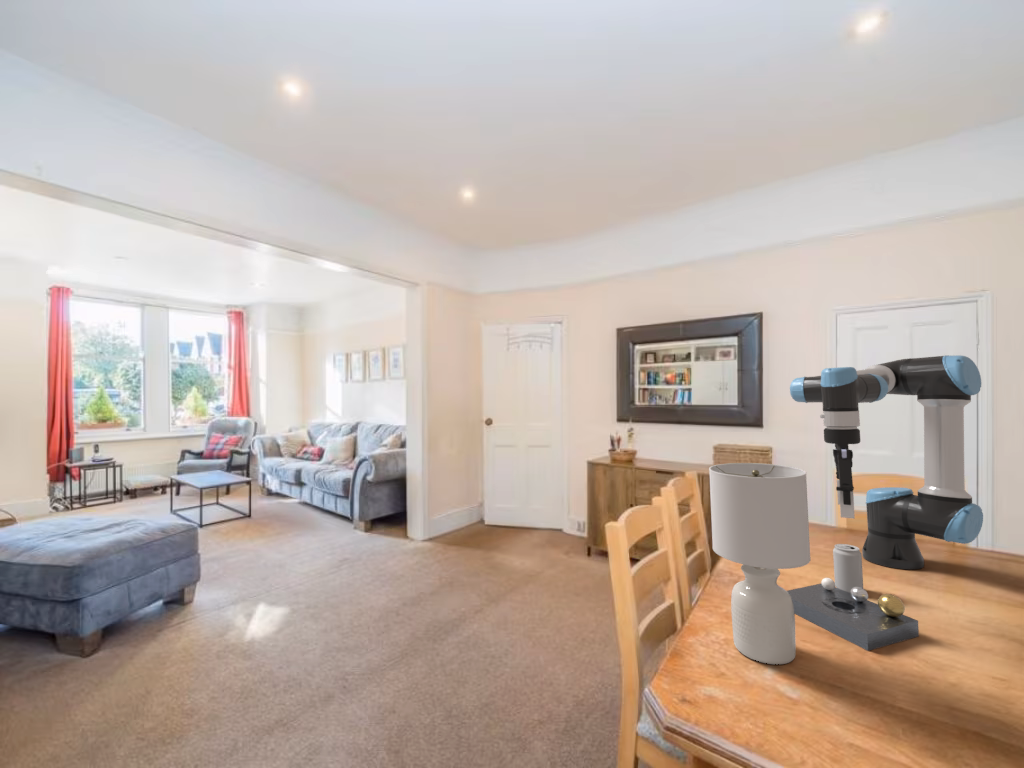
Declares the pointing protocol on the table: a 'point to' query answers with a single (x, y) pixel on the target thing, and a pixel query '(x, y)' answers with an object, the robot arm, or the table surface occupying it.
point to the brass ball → (891, 605)
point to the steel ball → (859, 594)
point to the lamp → (761, 550)
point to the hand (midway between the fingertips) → (845, 511)
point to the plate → (851, 617)
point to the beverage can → (847, 567)
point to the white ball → (828, 583)
